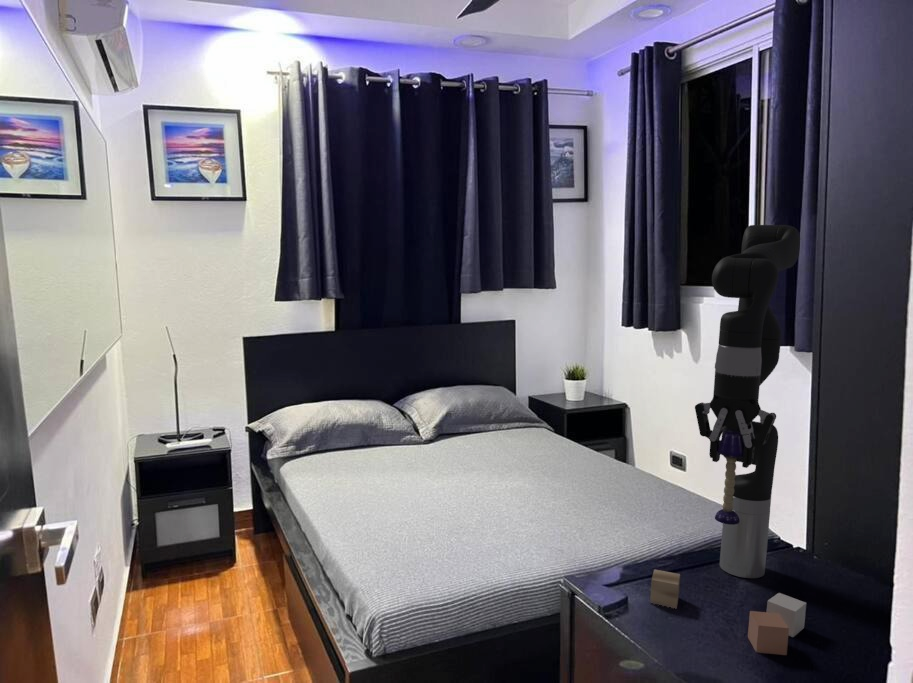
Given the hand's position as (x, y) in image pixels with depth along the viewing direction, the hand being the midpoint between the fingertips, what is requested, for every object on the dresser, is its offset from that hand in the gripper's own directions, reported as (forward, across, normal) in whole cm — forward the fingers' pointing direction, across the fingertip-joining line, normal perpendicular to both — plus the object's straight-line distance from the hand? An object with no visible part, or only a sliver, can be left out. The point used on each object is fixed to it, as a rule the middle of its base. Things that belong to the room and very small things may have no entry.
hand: (730, 463), depth 124 cm
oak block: (+31, +11, -2) cm, 33 cm away
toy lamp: (+11, 0, 0) cm, 11 cm away
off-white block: (+31, -10, -7) cm, 33 cm away
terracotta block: (+31, -9, +2) cm, 32 cm away
